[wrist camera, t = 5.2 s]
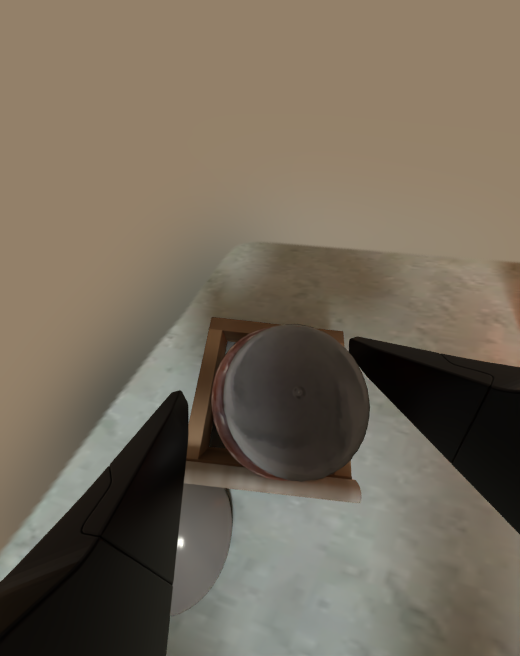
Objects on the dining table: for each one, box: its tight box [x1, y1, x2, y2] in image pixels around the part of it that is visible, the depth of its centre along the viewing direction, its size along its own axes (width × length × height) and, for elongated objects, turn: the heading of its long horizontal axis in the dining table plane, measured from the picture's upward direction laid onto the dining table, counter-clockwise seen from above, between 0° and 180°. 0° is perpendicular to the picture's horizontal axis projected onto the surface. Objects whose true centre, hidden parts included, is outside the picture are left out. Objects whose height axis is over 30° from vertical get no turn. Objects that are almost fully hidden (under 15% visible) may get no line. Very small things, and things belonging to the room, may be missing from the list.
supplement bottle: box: [211, 324, 370, 482], centre depth 10 cm, size 6×6×11 cm
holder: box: [184, 317, 361, 503], centre depth 14 cm, size 10×10×4 cm
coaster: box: [170, 483, 232, 616], centre depth 12 cm, size 8×8×1 cm
